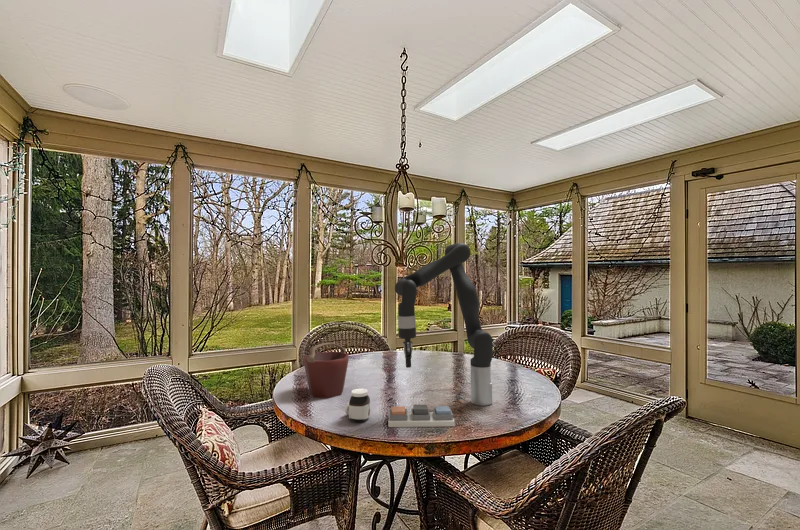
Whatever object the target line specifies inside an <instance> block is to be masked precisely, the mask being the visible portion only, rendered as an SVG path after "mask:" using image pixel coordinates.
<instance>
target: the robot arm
mask: <svg viewBox="0 0 800 530" xmlns="http://www.w3.org/2000/svg"><path fill="white" fill-rule="evenodd" d="M471 252H472V251H471V249H470V247H469V245H468V244H466V243H463V242H457V243H456V242H455V243H452V244H449V245H447V246H446V248H445V249H444V256H441V257H440V258H438V259H435V260H434V261H432V262H429V263H427V264H425V265H424V266H422V267H420V268H419V269H417V270H416V271H415V272H413V273H411V274H409V275H406V276H404V277H402V278H400V279H399V280H398V281H396V283H395V284H394V291H395V293H396V294H397V295H398V296H401V302H399V303H398V304H397V305H398V307H397V312H398V317H397V328H398V330H397V331H398V338H399V339H403V340H404V341H402V347H403V353H404V358H405V368H407V369H408V368H409V369H411V368H412V358H413V357H412V355H413V354H412V353H413V345H414V344H413V341H412V340H411V339H414V338H417V321H416V312H415V311H416V309H415V308H416V307H415V305H416V300H417V295H418V294H417V293H418V288H419V287H423V286H425V285H427V284H428V283H430V282H431V281H433V280H434V279H436V278H437V277H438V276H440V275H442V274H443V273H445V272H447V271H448V270H449V273H450V275H451V277H452V278H451V279H452V281H453V285H454V288H455V291H456V297H457V301H458V304H459V306H460V311H461V314H462V319H463V322H464V325H465V326H464V327H465V332H466V339H467V343H468V345H469V346H470V347H471V348H472V349H473V357H472V358H471V359H470V403H471V404H472V405H476V406H489V405H493V383H492V372H491V371H492V368H491V367H492V366H491V365H492V360H493V352H494V351H493V348H494V343H493V338H492V335H491V334H490V333H488V332H487V331H484V330H483V328H482V326H481V322H480V317H479V315H480V314H479V313H480V299H479V296H478V292H477V288H476V286H475V284H474V283H473V281H472V279H470V277H469V276H468V275H467V273H466V271H465V268H464V263H465V262H467V261H468V260H469V259H470V257H471V254H472V253H471Z"/></svg>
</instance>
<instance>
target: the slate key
mask: <svg viewBox="0 0 800 530" xmlns="http://www.w3.org/2000/svg"><path fill="white" fill-rule="evenodd" d="M434 409H435V413H436V415H444V414H451V411H452V410H451V411H450V409H451V408H450V407H449V405H444V406H443V405H442V406H441V405H435V406H434Z"/></svg>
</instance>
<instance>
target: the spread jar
mask: <svg viewBox="0 0 800 530" xmlns="http://www.w3.org/2000/svg"><path fill="white" fill-rule="evenodd" d="M350 392H351V396H350V398H349V401H347V403H346V404H345V406H344V410H343V411H344V414H346V415H347V416H348V418H349V420H350V421H351V422H354V423H364V422H367V421H368V420H369V419H370V415H371V397H370V396H369V391H368V389H366V388H355V389H352V390H351V391H350Z"/></svg>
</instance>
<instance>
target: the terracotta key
mask: <svg viewBox="0 0 800 530" xmlns="http://www.w3.org/2000/svg"><path fill="white" fill-rule="evenodd" d="M391 409H392V415H406V411H405V409H406V406H391Z"/></svg>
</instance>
